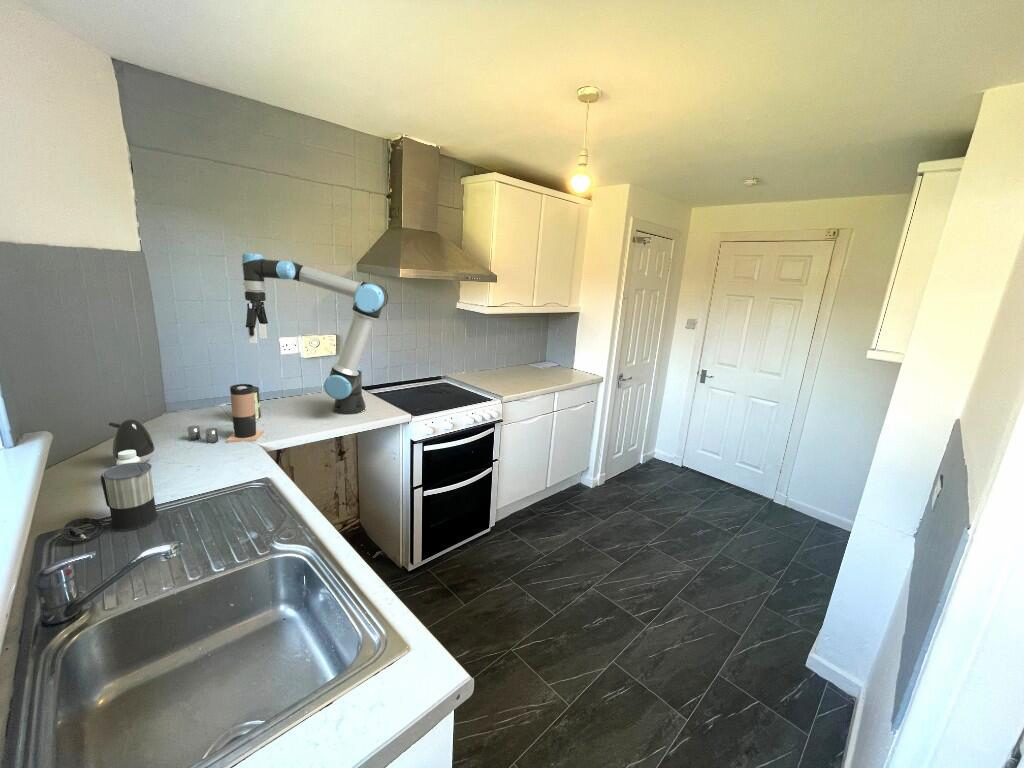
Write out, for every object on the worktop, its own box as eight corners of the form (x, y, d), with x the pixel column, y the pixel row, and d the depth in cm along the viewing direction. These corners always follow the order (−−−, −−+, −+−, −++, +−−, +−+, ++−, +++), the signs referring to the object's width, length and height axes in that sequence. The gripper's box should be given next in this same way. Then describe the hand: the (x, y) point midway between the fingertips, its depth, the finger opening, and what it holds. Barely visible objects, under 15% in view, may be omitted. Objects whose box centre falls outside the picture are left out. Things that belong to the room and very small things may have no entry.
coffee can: (245, 414, 188) (242, 385, 185) (266, 417, 187) (264, 387, 184) (228, 421, 178) (225, 390, 175) (250, 424, 177) (247, 392, 174)
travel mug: (250, 430, 169) (246, 382, 164) (260, 434, 165) (257, 386, 160) (230, 435, 162) (225, 386, 157) (240, 439, 158) (236, 389, 154)
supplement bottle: (148, 478, 128) (143, 449, 126) (130, 486, 123) (125, 456, 120) (133, 476, 129) (128, 447, 126) (114, 484, 123) (109, 454, 121)
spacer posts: (254, 424, 177) (253, 413, 176) (236, 442, 158) (235, 430, 157) (207, 425, 172) (205, 414, 171) (183, 444, 153) (181, 431, 152)
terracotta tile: (263, 432, 170) (263, 430, 169) (255, 441, 160) (255, 439, 160) (236, 433, 167) (235, 430, 167) (226, 442, 158) (226, 440, 157)
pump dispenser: (123, 457, 140) (116, 415, 136) (161, 455, 144) (155, 413, 140) (107, 470, 131) (99, 425, 127) (148, 467, 134) (141, 423, 131)
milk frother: (168, 513, 111) (161, 463, 108) (111, 550, 96) (101, 492, 92) (116, 509, 111) (108, 458, 108) (51, 545, 96) (38, 487, 93)
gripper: (254, 289, 186) (258, 336, 191) (233, 291, 163) (238, 344, 168) (273, 290, 188) (276, 336, 193) (255, 292, 165) (259, 345, 170)
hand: (258, 340), depth 180 cm, fingers open, 13 cm apart
